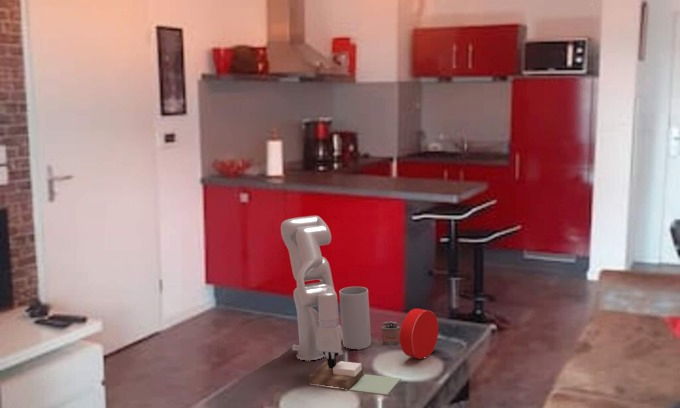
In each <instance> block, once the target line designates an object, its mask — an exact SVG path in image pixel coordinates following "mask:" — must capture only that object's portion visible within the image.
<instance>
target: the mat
mask: <svg viewBox="0 0 680 408" xmlns="http://www.w3.org/2000/svg"><path fill="white" fill-rule="evenodd" d="M401 380H402V378H399V377H391V376H384V375H376V374H374V375H373V374H366V373H364V375H362V376H361V377H360V378H359V379H358V380H357V381H356V382H355V383H354V384H353V385H352V386H351V387H350V388H349V390H350V391H351V392H359V393H367V394H373V395H374V394H375V395H376V394H377V395H380V396H381V395H383V396H388V395H389V394H390V393H391V391H392V390H393V389H394V388H395V387H396V386H397V385H398V384H399V382H400V381H401Z"/></svg>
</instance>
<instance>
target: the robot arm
mask: <svg viewBox="0 0 680 408" xmlns="http://www.w3.org/2000/svg"><path fill="white" fill-rule="evenodd" d="M280 234H281V238H282V240H283V242H284V245H285V246H286V248H287V250H288V254H289V259H290V265H291V270H292V274H293V278H294V279H295V281H296V288H294V290H293V300H294V301H293V302H294V304H295V309H296V316H297V328H298V342H299V344H292V347H291V348H292V352H297V353H296V358H297V360H299V359H300V360H299V361H302V360H305V361H304V362H311V361H310V360H316V361H318V360H317V359H320V360H322V359H324V358H326V361H328V366H329V368H331V369H333V367H334V366H336V362H337V357H338V356H341V355H344V354H345V350H344V348H345V347H344V340H343V333H342V325H340V321H339V310H338V309H339V304H338V295H337V292H336V291H335V286H334V282H333V277H332V276H333V275H332V271H331V267H330V263H329V261H328V260H327V258H326V257H325V256H322V251H321V248H320V247H321V246H326V245H330V244H331V241H332V234H331V231H330V228H329V226H328V225H327V223H326V222H325V221H324V220H323V218H321V217H320V216H319V215H308V216H307V215H306V216H298V217H293V218H288V219H285V220H283V221H282V222H281V225H280ZM315 280H316V281H317V280H319V281H320V282H311V283H307V284H305V282H310V281H315ZM314 307H317V308H318V311H317V310H316V309H315V308H314ZM323 357H324V358H323ZM321 358H322V359H321ZM306 360H307V361H306ZM308 360H309V361H308Z"/></svg>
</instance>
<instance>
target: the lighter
mask: <svg viewBox="0 0 680 408" xmlns="http://www.w3.org/2000/svg"><path fill="white" fill-rule="evenodd" d="M400 331H401V326H399V325H398V323H397V321H392V320H391V321H384V322H382V326H381V335H382V336H381V337H382V341H381V342H382V343H381V344H382V345H384V346H396V345H401V344H400Z"/></svg>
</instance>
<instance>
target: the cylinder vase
mask: <svg viewBox="0 0 680 408" xmlns="http://www.w3.org/2000/svg"><path fill="white" fill-rule="evenodd" d="M338 293H339V306H340V308H339V309H340V319H341V322H340V323H341V325H340V326H341V329H342V333H343V340H344V348H345V347H348V348H351V349H357V350H356V351H358V350H365V349H368V348H369V347H370V346H371V345H372V338H371V320H370V302H369V290H368V288H367V287H364V286H349V287H348V286H347V287H343V288H342V289H340V290H339V292H338Z"/></svg>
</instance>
